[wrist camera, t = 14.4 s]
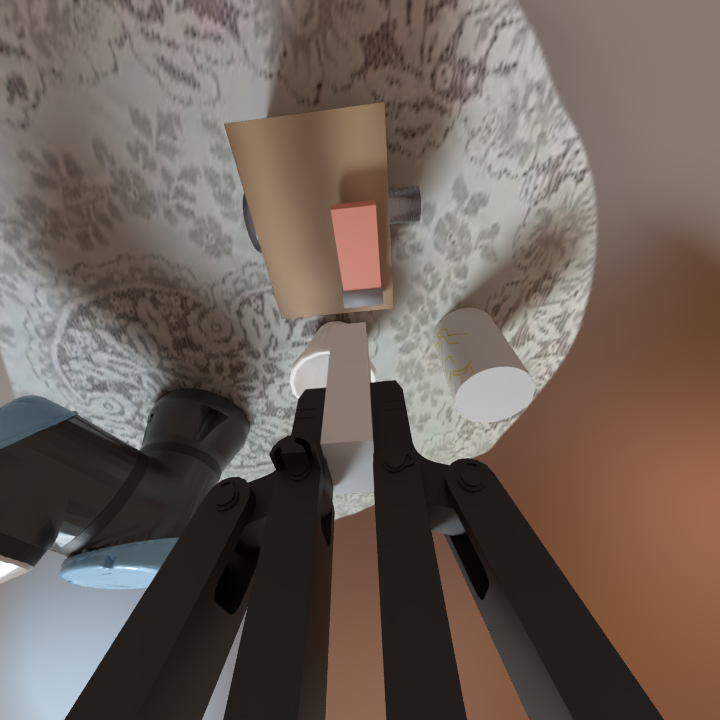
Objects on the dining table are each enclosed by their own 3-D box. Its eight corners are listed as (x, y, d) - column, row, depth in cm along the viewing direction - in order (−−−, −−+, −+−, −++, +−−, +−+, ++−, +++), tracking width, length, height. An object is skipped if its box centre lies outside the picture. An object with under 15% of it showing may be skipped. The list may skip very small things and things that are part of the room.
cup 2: (437, 307, 40) (462, 367, 30) (501, 307, 40) (546, 366, 30) (429, 358, 45) (448, 422, 35) (486, 357, 45) (520, 422, 35)
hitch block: (300, 271, 37) (281, 318, 28) (265, 122, 28) (223, 124, 19) (385, 262, 36) (393, 308, 27) (376, 107, 27) (384, 102, 19)
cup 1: (340, 291, 38) (336, 332, 31) (389, 343, 43) (395, 389, 36) (285, 335, 42) (270, 381, 35) (335, 378, 47) (331, 426, 39)
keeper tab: (345, 301, 27) (345, 312, 26) (329, 205, 21) (328, 213, 20) (382, 297, 26) (383, 308, 25) (376, 199, 21) (377, 207, 20)
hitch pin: (270, 242, 32) (256, 261, 28) (254, 185, 28) (236, 196, 24) (413, 226, 31) (422, 243, 27) (414, 165, 28) (423, 173, 24)
